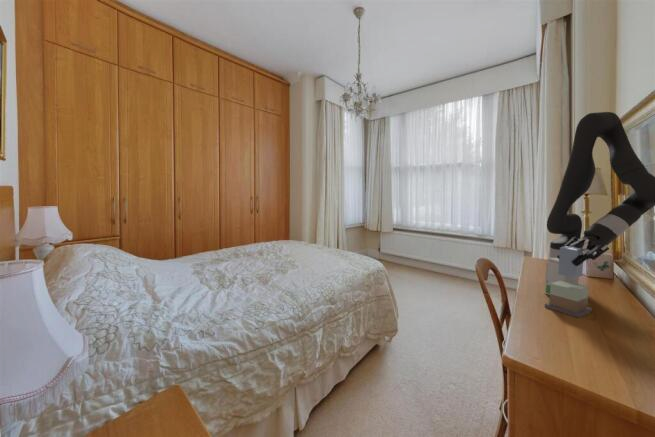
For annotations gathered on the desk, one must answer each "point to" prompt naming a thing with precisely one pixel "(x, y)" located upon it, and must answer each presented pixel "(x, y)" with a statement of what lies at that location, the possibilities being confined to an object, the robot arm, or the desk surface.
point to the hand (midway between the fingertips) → (566, 261)
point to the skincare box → (556, 275)
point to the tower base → (569, 298)
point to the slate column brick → (569, 262)
